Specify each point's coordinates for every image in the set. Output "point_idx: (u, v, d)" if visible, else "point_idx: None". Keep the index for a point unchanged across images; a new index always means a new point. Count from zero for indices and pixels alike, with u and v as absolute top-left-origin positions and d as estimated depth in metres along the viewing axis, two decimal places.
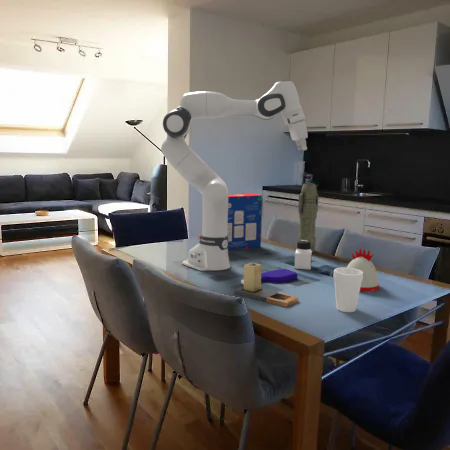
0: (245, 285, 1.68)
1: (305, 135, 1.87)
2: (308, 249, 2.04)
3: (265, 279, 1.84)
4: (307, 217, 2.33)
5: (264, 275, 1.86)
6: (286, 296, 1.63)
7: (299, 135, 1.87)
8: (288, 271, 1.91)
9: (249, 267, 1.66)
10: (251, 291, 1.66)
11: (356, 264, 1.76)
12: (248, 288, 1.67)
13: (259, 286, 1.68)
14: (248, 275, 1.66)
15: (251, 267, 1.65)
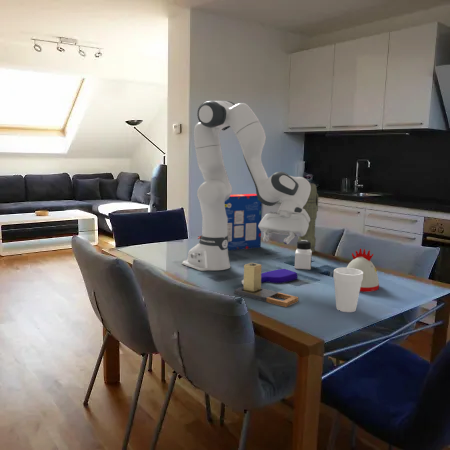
0: (245, 285, 1.68)
1: (304, 233, 1.73)
2: (308, 249, 2.04)
3: (266, 279, 1.84)
4: None
5: (264, 275, 1.85)
6: (286, 296, 1.63)
7: (302, 227, 1.72)
8: (288, 271, 1.91)
9: (249, 267, 1.66)
10: (251, 291, 1.66)
11: (356, 264, 1.76)
12: (248, 288, 1.67)
13: (259, 286, 1.68)
14: (248, 275, 1.66)
15: (251, 267, 1.65)
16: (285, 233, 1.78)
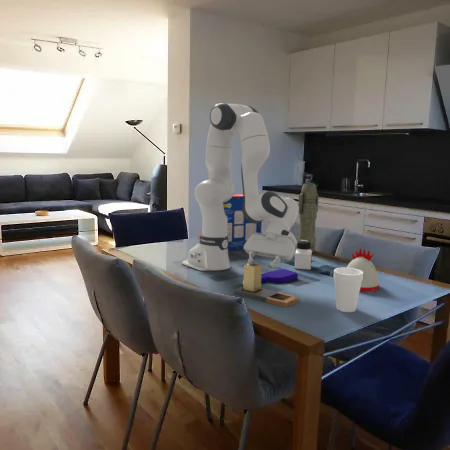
0: (245, 285, 1.68)
1: (290, 257, 1.68)
2: (308, 249, 2.04)
3: (266, 280, 1.83)
4: (307, 217, 2.33)
5: (265, 276, 1.85)
6: (286, 296, 1.63)
7: (289, 252, 1.66)
8: (288, 271, 1.91)
9: (249, 267, 1.66)
10: (251, 291, 1.66)
11: (356, 264, 1.76)
12: (248, 288, 1.67)
13: (259, 286, 1.68)
14: (248, 275, 1.66)
15: (251, 267, 1.65)
16: (271, 256, 1.72)
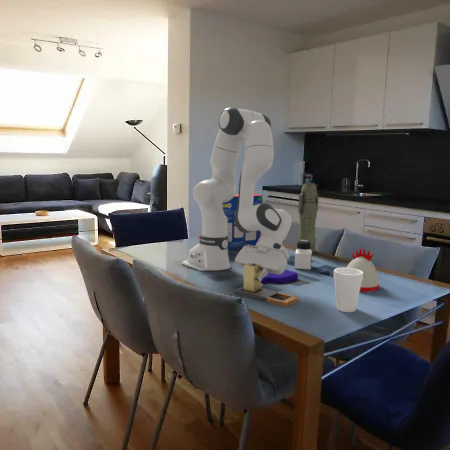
0: (245, 285, 1.68)
1: (282, 271, 1.65)
2: (308, 249, 2.04)
3: (267, 280, 1.83)
4: (307, 217, 2.33)
5: (265, 276, 1.84)
6: (286, 296, 1.63)
7: (280, 266, 1.63)
8: (288, 271, 1.91)
9: (249, 267, 1.66)
10: (251, 291, 1.66)
11: (357, 264, 1.76)
12: (248, 288, 1.67)
13: (259, 286, 1.68)
14: (248, 275, 1.66)
15: (251, 267, 1.65)
16: (262, 269, 1.69)
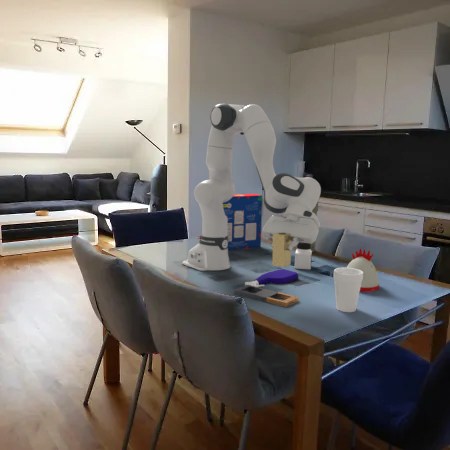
0: (274, 255, 1.58)
1: (314, 240, 1.55)
2: (308, 249, 2.04)
3: (268, 280, 1.82)
4: None
5: (266, 277, 1.84)
6: (286, 296, 1.63)
7: (312, 234, 1.54)
8: (288, 271, 1.91)
9: (279, 236, 1.56)
10: (281, 261, 1.57)
11: (356, 264, 1.76)
12: (277, 259, 1.58)
13: (289, 256, 1.59)
14: (278, 245, 1.57)
15: (281, 236, 1.55)
16: (292, 239, 1.60)
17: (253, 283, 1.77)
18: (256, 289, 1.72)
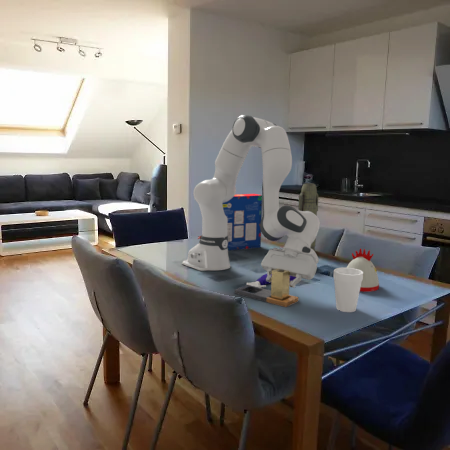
0: (273, 292, 1.60)
1: (312, 276, 1.57)
2: None
3: None
4: None
5: None
6: None
7: (311, 271, 1.56)
8: None
9: (277, 273, 1.58)
10: (279, 298, 1.59)
11: (356, 264, 1.76)
12: (275, 295, 1.60)
13: (287, 293, 1.61)
14: (276, 282, 1.59)
15: (279, 273, 1.58)
16: (291, 274, 1.62)
17: (255, 284, 1.76)
18: (256, 289, 1.72)
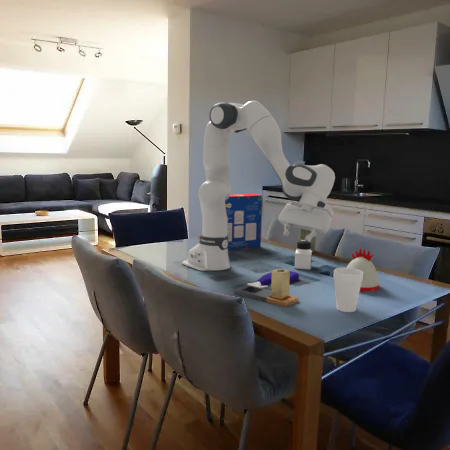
0: (273, 292, 1.60)
1: (327, 230, 1.63)
2: (308, 249, 2.04)
3: (270, 281, 1.82)
4: None
5: (268, 277, 1.83)
6: None
7: (325, 225, 1.61)
8: None
9: (277, 273, 1.58)
10: (279, 298, 1.59)
11: (356, 264, 1.76)
12: (275, 295, 1.60)
13: (287, 293, 1.61)
14: (276, 282, 1.59)
15: (279, 273, 1.58)
16: (307, 228, 1.68)
17: (256, 284, 1.76)
18: (256, 289, 1.72)
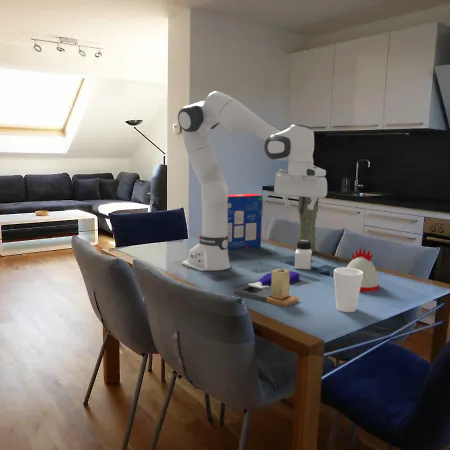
0: (273, 292, 1.60)
1: (326, 194, 1.62)
2: (308, 249, 2.04)
3: None
4: (307, 217, 2.33)
5: (269, 277, 1.83)
6: None
7: (322, 192, 1.60)
8: None
9: (277, 273, 1.58)
10: (279, 298, 1.59)
11: (356, 264, 1.76)
12: (275, 295, 1.60)
13: (287, 293, 1.61)
14: (276, 282, 1.59)
15: (279, 273, 1.58)
16: None
17: (257, 284, 1.75)
18: (256, 289, 1.72)
